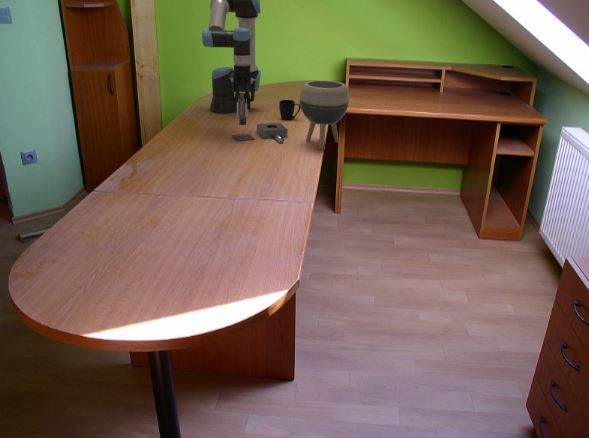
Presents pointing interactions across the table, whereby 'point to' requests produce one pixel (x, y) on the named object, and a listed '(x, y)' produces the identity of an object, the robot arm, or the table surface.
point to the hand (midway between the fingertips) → (242, 115)
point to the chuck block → (272, 131)
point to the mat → (242, 137)
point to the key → (242, 109)
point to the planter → (324, 106)
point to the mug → (287, 109)
